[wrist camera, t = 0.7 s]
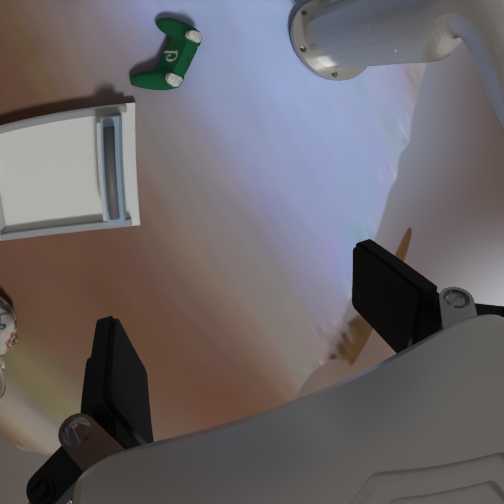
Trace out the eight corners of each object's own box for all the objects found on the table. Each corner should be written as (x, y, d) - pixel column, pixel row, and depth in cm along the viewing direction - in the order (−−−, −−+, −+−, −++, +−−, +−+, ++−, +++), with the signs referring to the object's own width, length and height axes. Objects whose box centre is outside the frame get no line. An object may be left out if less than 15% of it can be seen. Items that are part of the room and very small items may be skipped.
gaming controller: (146, 91, 33) (180, 99, 31) (124, 83, 29) (158, 90, 27) (175, 27, 30) (212, 30, 28) (156, 15, 27) (194, 15, 25)
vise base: (-19, 131, 25) (-36, 134, 21) (135, 103, 31) (132, 101, 28) (-4, 238, 32) (-18, 252, 28) (140, 222, 38) (138, 235, 34)
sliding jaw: (101, 118, 30) (93, 118, 26) (122, 116, 30) (117, 116, 27) (107, 217, 35) (102, 229, 31) (127, 215, 36) (123, 227, 32)
